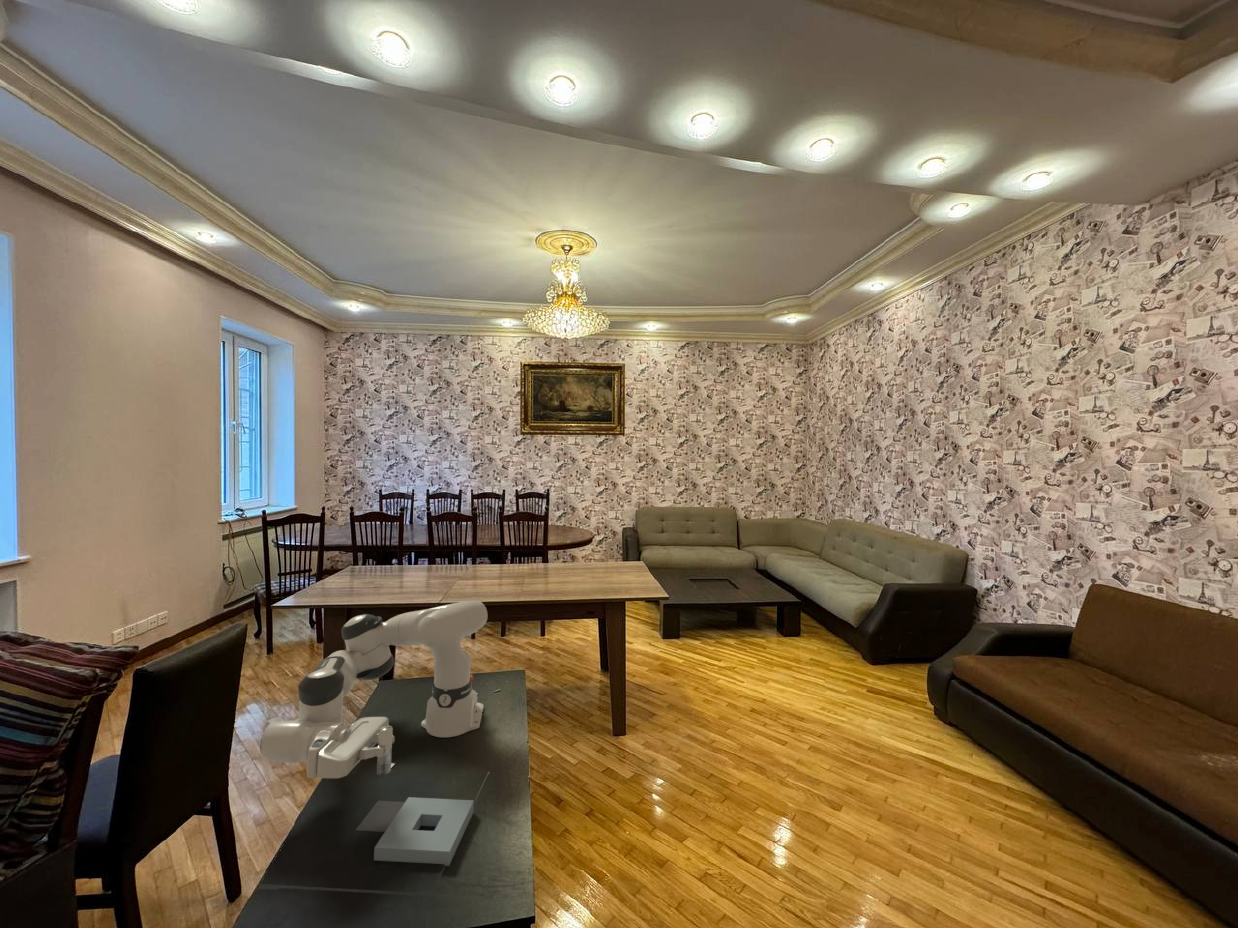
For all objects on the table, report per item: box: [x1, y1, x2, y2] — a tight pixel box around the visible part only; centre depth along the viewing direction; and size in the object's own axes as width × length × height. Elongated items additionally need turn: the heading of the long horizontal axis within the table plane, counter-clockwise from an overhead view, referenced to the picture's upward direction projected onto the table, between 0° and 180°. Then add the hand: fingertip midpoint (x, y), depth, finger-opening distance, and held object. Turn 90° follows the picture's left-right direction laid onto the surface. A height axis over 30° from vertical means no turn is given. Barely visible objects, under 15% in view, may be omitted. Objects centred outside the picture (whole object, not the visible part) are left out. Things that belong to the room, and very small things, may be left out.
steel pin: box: [376, 725, 394, 776], centre depth 116 cm, size 3×3×10 cm
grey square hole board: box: [373, 796, 475, 867], centre depth 111 cm, size 16×16×3 cm
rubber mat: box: [355, 800, 406, 833], centre depth 116 cm, size 10×7×1 cm
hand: (388, 745), depth 116 cm, fingers closed on steel pin, 3 cm apart
